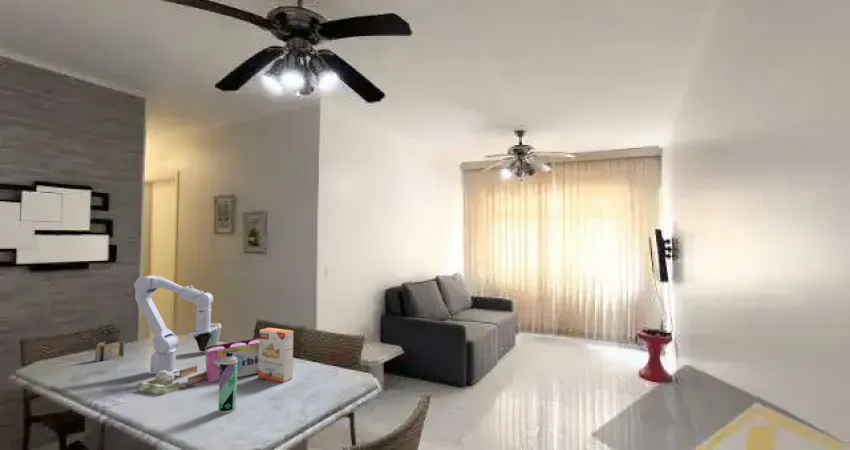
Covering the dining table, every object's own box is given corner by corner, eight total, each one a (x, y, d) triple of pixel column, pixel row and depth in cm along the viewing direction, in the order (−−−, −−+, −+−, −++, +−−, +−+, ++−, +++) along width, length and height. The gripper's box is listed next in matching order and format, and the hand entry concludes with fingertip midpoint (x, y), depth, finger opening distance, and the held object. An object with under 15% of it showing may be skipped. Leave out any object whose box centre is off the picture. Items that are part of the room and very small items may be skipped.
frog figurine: (151, 388, 161) (151, 370, 162) (169, 383, 167) (170, 366, 168) (159, 391, 158) (160, 373, 159) (177, 386, 165) (178, 368, 165)
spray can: (222, 407, 145) (224, 349, 146) (238, 406, 145) (240, 349, 146) (215, 413, 139) (218, 354, 140) (232, 413, 140) (234, 354, 141)
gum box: (264, 365, 190) (263, 336, 190) (267, 371, 183) (267, 341, 183) (205, 377, 177) (205, 346, 176) (207, 383, 170) (207, 351, 170)
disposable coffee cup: (193, 354, 211) (194, 324, 212) (207, 349, 222) (208, 321, 222) (211, 355, 209) (212, 325, 210) (225, 350, 220) (226, 322, 221)
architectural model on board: (98, 363, 194) (99, 342, 195) (94, 362, 196) (96, 341, 196) (124, 357, 205) (125, 337, 205) (120, 356, 206) (121, 337, 206)
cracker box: (256, 378, 175) (258, 329, 176) (267, 374, 181) (268, 326, 182) (282, 383, 170) (284, 332, 171) (292, 379, 176) (294, 329, 177)
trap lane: (132, 389, 160) (133, 381, 160) (189, 370, 185) (189, 363, 185) (168, 395, 155) (169, 387, 155) (222, 375, 179) (222, 368, 179)
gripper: (197, 323, 176) (195, 355, 175) (223, 318, 190) (222, 347, 189) (184, 322, 178) (182, 354, 177) (211, 316, 192) (209, 346, 191)
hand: (202, 350), depth 183 cm, fingers closed
